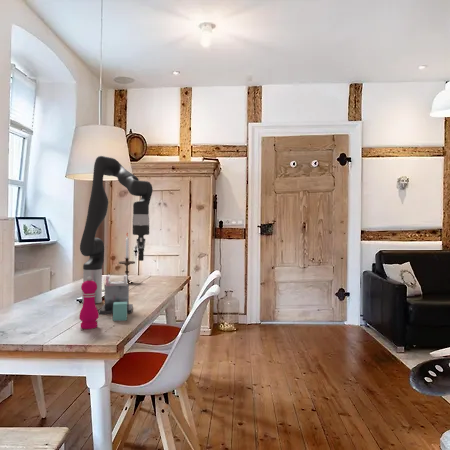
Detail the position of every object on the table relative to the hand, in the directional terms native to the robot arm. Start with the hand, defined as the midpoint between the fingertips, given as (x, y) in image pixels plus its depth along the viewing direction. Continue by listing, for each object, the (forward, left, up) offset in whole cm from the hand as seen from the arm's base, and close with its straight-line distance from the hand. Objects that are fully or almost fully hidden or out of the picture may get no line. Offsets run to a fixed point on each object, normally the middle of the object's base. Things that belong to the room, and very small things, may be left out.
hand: (141, 259), depth 190 cm
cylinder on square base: (-11, +7, -24) cm, 28 cm away
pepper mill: (-19, -23, -25) cm, 39 cm away
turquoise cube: (-8, -11, -24) cm, 28 cm away
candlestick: (-12, +98, -25) cm, 102 cm away
